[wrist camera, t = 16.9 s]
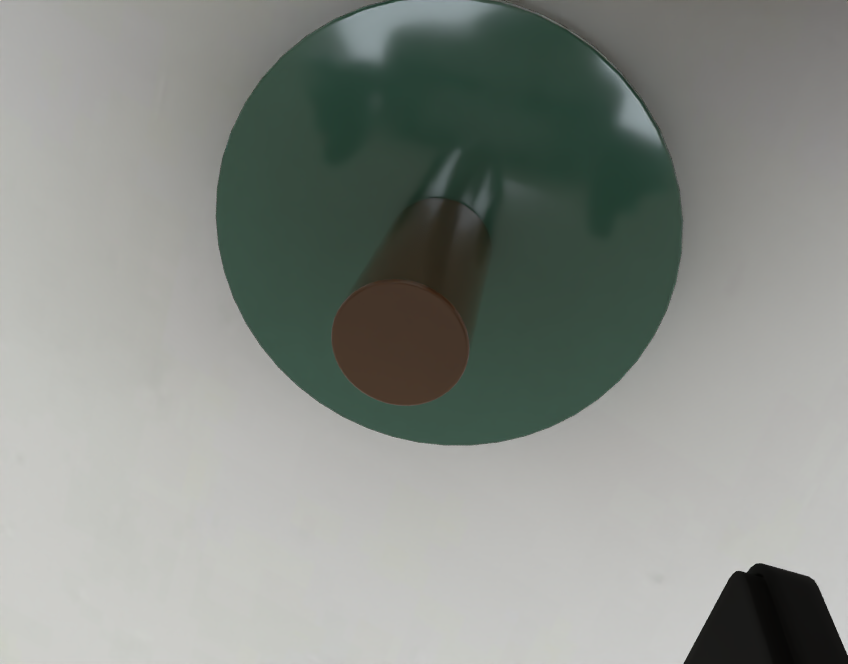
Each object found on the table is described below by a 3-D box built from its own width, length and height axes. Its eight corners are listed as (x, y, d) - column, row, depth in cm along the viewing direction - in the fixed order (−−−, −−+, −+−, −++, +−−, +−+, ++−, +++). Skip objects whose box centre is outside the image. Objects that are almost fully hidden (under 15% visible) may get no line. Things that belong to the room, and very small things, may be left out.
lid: (752, 62, 16) (852, 117, 11) (590, 466, 21) (601, 648, 15) (263, -64, 17) (117, -75, 11) (213, 360, 21) (92, 501, 16)
